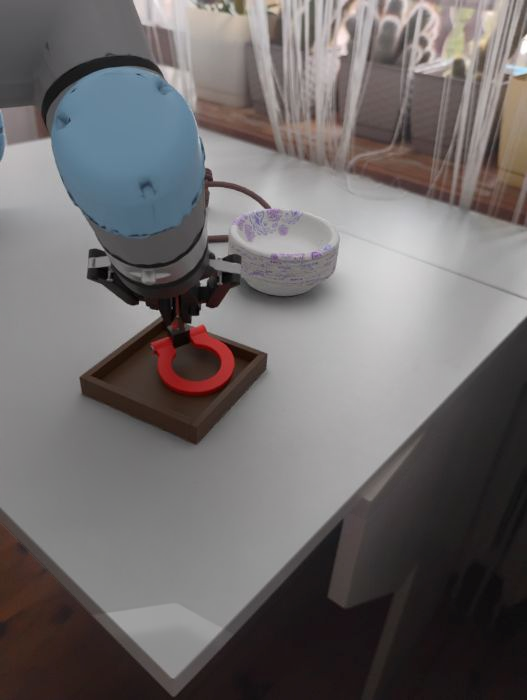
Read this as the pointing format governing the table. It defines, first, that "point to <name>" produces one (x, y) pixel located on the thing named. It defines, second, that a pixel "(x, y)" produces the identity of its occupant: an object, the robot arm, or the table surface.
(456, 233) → the table surface
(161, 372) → the tow hook
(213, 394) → the tray
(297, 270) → the paper bowls
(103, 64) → the robot arm
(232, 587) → the table surface
